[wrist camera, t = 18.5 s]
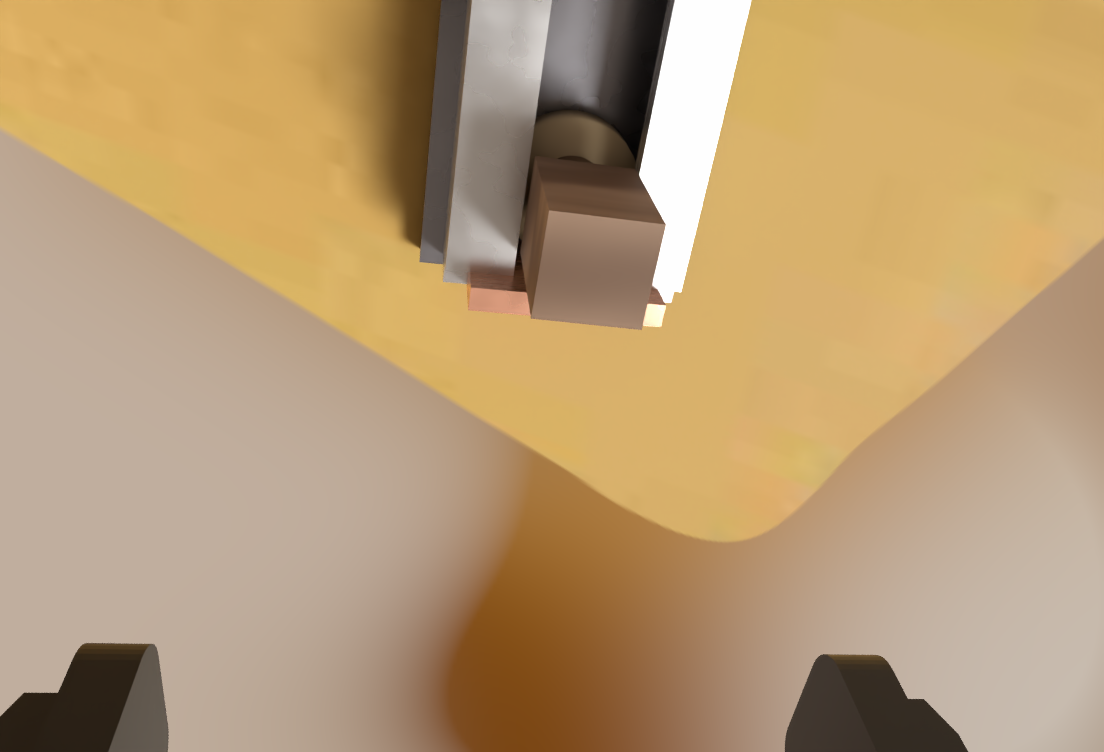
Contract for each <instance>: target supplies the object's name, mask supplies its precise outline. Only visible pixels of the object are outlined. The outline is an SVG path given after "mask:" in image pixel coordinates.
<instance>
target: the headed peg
mask: <svg viewBox="0 0 1104 752" xmlns="http://www.w3.org/2000/svg"><path fill="white" fill-rule="evenodd" d="M635 164H636V161H635V159H634V156H633V154H632V153H631V151H630V149H629V147H628V146H627V144H626V142H625V141H624V139H623V137H622V136H621V135H620V134H619V132H618V131H617V130H616V129H615V128H614V127H613V126H612V125H611V124H609V123H608V122H606V121H605V120H603V119H602V118H600V117H598V116H596V115H593V114H590V113H587V112H583V111H578V110H559V111H554V112H549V113H546V114H543V115H541V116H539V117H537V118H535V125H534V132H533V140H532V147H531V154H530V161H529V168H528V175H527V182H526V190H525V197H524V204H523V211H522V218H521V225H520V232H519V238H520V239H521V240H522V244H521V250H520V254H521V260H522V266H523V272H524V278H525V284H526V290H527V296H528V303H529V309H530V315H531V319H541V320H550V321H560V322H570V323H580V324H589V325H599V326H609V327H618V328H628V329H638V330H642V326H643V322H644V318H645V313H646V309H647V305H648V301H649V296H650V292H651V288H652V284H653V279H654V275H655V271H656V267H657V262H658V258H659V254H660V250H661V245H662V241H663V237H664V233H665V228H666V223H665V221H664V220H663V218H662V216H661V214H660V212H659V211H658V209H657V207H656V205H655V203H654V201H653V200H652V198H651V196H650V194H649V192H648V191H647V189H646V187H645V185H644V183H643V182H642V180H641V178H640V176H639V174H638V173H637V171H636V169H635Z"/></svg>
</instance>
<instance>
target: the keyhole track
mask: <svg viewBox="0 0 1104 752" xmlns="http://www.w3.org/2000/svg"><path fill="white" fill-rule="evenodd" d="M750 4H751V0H441V7H440V19H439V31H438V43H437V55H436V67H435V79H434V91H433V103H432V114H431V126H430V138H429V150H428V162H427V174H426V186H425V198H424V210H423V222H422V234H421V246H420V262H426V263H436V264H443V282H451V283H462V284H467V297H468V310H472V311H483V312H495V313H506V314H518V315H529V316H531V315H530V309H529V303H528V296H527V290H526V284H525V278H524V272H523V266H522V260H521V254H520V250H521V244H522V240H521V239H520V238H519V232H520V225H521V218H522V211H523V204H524V197H525V190H526V182H527V175H528V168H529V161H530V154H531V147H532V140H533V132H534V125H535V118H537V117H539V116H541V115H543V114H546V113H549V112H554V111H559V110H578V111H583V112H587V113H590V114H593V115H596V116H598V117H600V118H602V119H603V120H605V121H606V122H608V123H609V124H611V125H612V126H613V127H614V128H615V129H616V130H617V131H618V132H619V134H620V135H621V136H622V137H623V139H624V141H625V142H626V144H627V146H628V147H629V149H630V151H631V153H632V154H633V156H634V159H635V161H636V164H635V169H636V171H637V173H638V174H639V176H640V178H641V180H642V182H643V183H644V185H645V187H646V189H647V191H648V192H649V194H650V196H651V198H652V200H653V201H654V203H655V205H656V207H657V209H658V211H659V212H660V214H661V216H662V218H663V220H664V221H665V223H666V228H665V233H664V237H663V241H662V245H661V250H660V254H659V258H658V262H657V267H656V271H655V275H654V279H653V284H652V288H651V292H650V296H649V301H648V305H647V309H646V313H645V318H644V322H643V326H655V327H661V324H662V320H663V315H664V311H665V307H666V305H665V303H664V302H668V303H671V300H672V296H673V292H674V291H676V292H681V290H682V286H683V282H684V277H685V273H686V269H687V265H688V261H689V257H690V253H691V248H692V244H693V240H694V236H695V232H696V228H697V224H698V219H699V215H700V211H701V207H702V203H703V199H704V194H705V190H706V186H707V182H708V178H709V174H710V170H711V165H712V161H713V157H714V153H715V149H716V145H717V141H718V136H719V132H720V128H721V124H722V120H723V116H724V112H725V107H726V103H727V99H728V95H729V91H730V87H731V83H732V78H733V74H734V70H735V66H736V62H737V58H738V54H739V49H740V45H741V41H742V37H743V33H744V29H745V25H746V20H747V16H748V12H749V8H750Z"/></svg>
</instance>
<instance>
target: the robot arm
mask: <svg viewBox="0 0 1104 752" xmlns="http://www.w3.org/2000/svg"><path fill="white" fill-rule="evenodd" d="M0 752H168V723H167V716H166V708H165V701H164V694H163V686H162V679H161V672H160V664H159V657H158V652H157V648H156V647H155V645H154V644H114V643H86V644H83V645H82V646H81V647H80V648H79V649H78V651H77V652H76V654H75V656H74V658H73V660H72V662H71V665H70V667H69V669H68V671H67V674H66V676H65V678H64V681H63V683H62V686H61V687H60V690H59V692H58V693H23V694H22V696H21V697H20V698H18V699H17V700H16V701H15V702H14V703H13V704H12V706H10V707H9V708H8V709H7V710H6V711H5V712H4V713H3V714H2V715H1V716H0ZM785 752H968V751H967V749H966V747H965V745H964V744H963V742H962V740H961V738H960V736H959V735H958V733H956V731H954V729H953V728H952V727H951V726H949V724H948V723H947V722H946V721H945V720H944V719H943V718H942V717H941V716H940V715H939V714H938V713H937V712H936V711H935V710H934V709H933V708H932V707H931V706H930V705H929V704H928V703H927V702H926V701H925V700H924V699H908V698H907V697H906V695H905V693H904V691H903V689H902V687H901V685H900V683H899V681H898V679H897V677H896V676H895V673H894V672H893V670H892V668H891V666H890V665H889V663H888V662H887V661H886V660H885V659H884V658H883V657H881V656H878V655H828V654H823V655H820V656H819V657H818V658H817V659H816V661H815V662H814V665H813V667H812V669H811V672H810V674H809V677H808V679H807V682H806V684H805V687H804V689H803V692H802V694H801V697H800V699H799V702H798V704H797V707H796V709H795V712H794V714H793V717H792V719H791V722H790V724H789V727H788V730H787V733H786V740H785Z"/></svg>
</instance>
